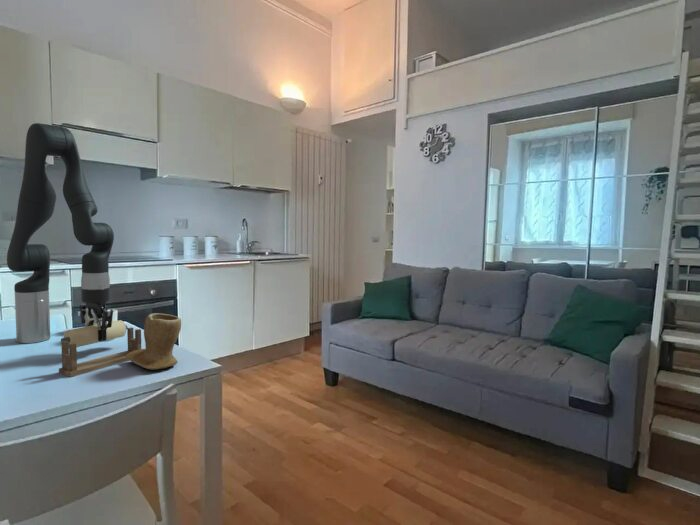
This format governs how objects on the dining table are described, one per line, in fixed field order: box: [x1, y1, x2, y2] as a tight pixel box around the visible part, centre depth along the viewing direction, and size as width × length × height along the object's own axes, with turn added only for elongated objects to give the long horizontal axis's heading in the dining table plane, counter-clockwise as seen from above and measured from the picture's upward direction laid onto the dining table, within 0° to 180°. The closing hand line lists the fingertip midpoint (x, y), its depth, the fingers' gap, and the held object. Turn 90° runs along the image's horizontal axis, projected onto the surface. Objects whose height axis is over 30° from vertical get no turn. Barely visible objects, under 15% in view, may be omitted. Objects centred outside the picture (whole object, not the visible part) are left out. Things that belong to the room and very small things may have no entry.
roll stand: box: [58, 327, 142, 378], centre depth 116 cm, size 6×21×8 cm, turn 152°
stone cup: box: [126, 312, 182, 370], centre depth 117 cm, size 15×12×15 cm
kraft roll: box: [60, 319, 129, 348], centre depth 126 cm, size 6×20×6 cm, turn 152°
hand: (96, 339), depth 126 cm, fingers closed on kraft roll, 5 cm apart
